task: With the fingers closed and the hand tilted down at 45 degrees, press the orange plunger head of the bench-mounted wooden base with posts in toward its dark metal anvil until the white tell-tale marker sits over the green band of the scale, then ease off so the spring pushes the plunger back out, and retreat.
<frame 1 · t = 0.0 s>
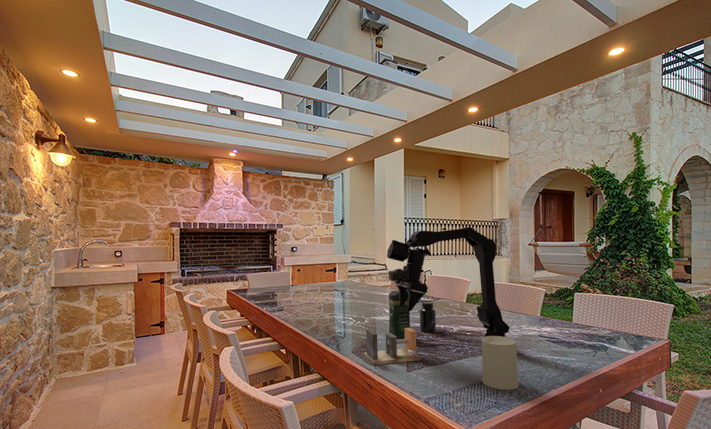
hand: (405, 308, 124), 15 cm above the table, tool pointing down, fingers open, 9 cm apart
coffee jar: (399, 337, 145), on the table
plunger: (402, 342, 119), point 5 cm above the table, slide at 0.0 cm
tell-tale marker: (409, 352, 116), point 2 cm above the table, slide at 0.0 cm
supplement bottle: (428, 331, 154), on the table
wooden base with posts: (407, 356, 120), on the table
can: (500, 383, 97), on the table
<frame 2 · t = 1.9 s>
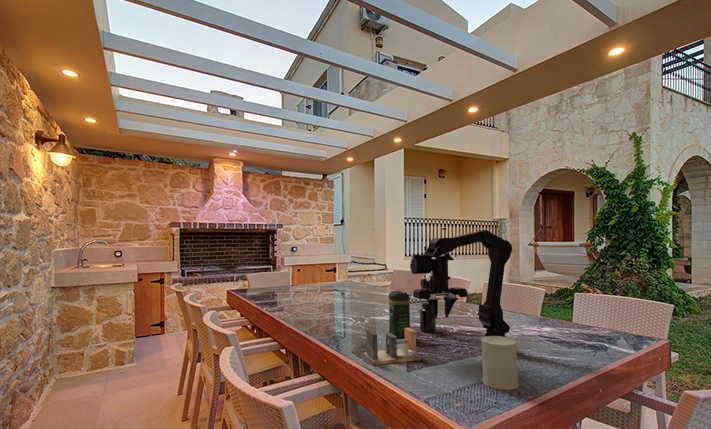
hand: (441, 317, 124), 12 cm above the table, tool pointing down, fingers open, 4 cm apart
nothing on the table moved.
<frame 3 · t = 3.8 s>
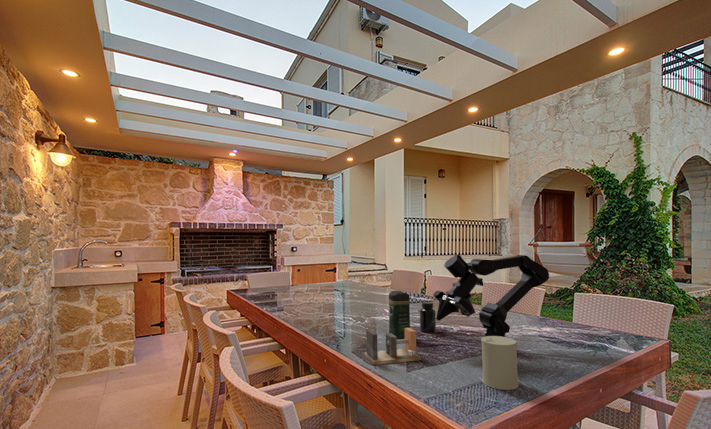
hand: (437, 319, 124), 11 cm above the table, tool tilted 45°, fingers closed
nothing on the table moved.
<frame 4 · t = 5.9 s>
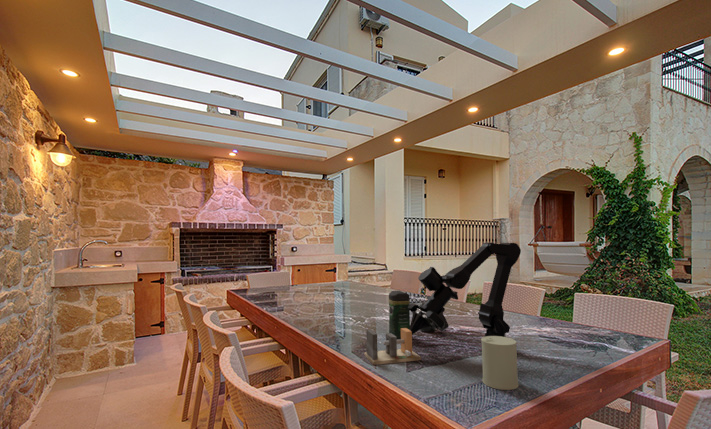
hand: (409, 334, 121), 7 cm above the table, tool tilted 45°, fingers closed, pressing on plunger
plunger: (398, 342, 118), point 5 cm above the table, slide at 1.5 cm, touching gripper, tell-tale marker
tell-tale marker: (407, 353, 116), point 2 cm above the table, slide at 1.0 cm, touching plunger
everything else where it was.
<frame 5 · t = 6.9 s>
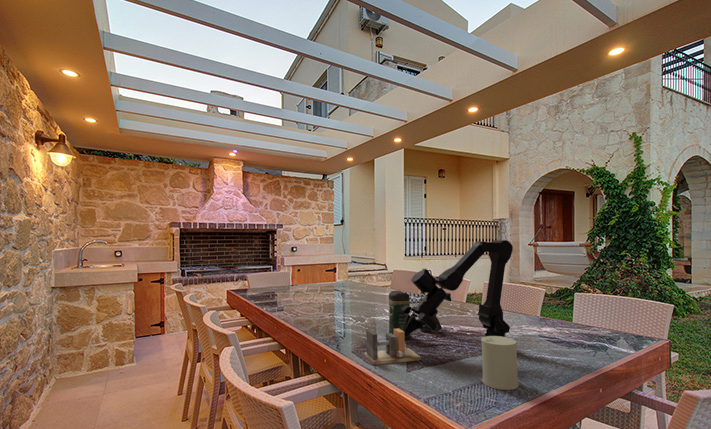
hand: (402, 336, 120), 7 cm above the table, tool tilted 45°, fingers closed, pressing on plunger
plunger: (390, 343, 118), point 5 cm above the table, slide at 4.1 cm, touching gripper
tell-tale marker: (399, 353, 115), point 2 cm above the table, slide at 3.6 cm
everything else where it was.
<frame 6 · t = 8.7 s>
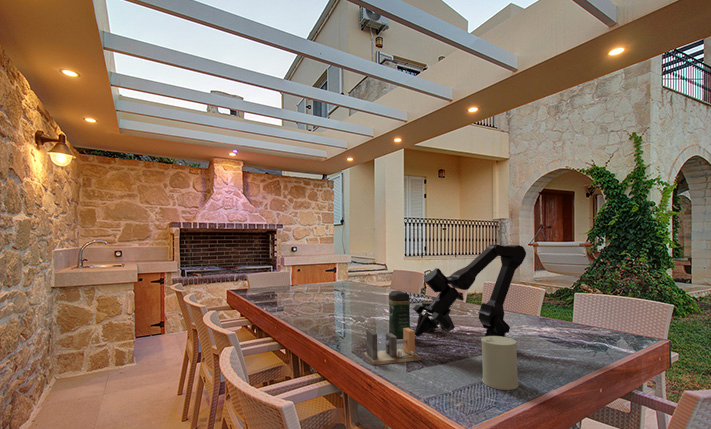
hand: (416, 335, 121), 7 cm above the table, tool tilted 45°, fingers closed
plunger: (400, 342, 118), point 5 cm above the table, slide at 0.5 cm
everything else where it was.
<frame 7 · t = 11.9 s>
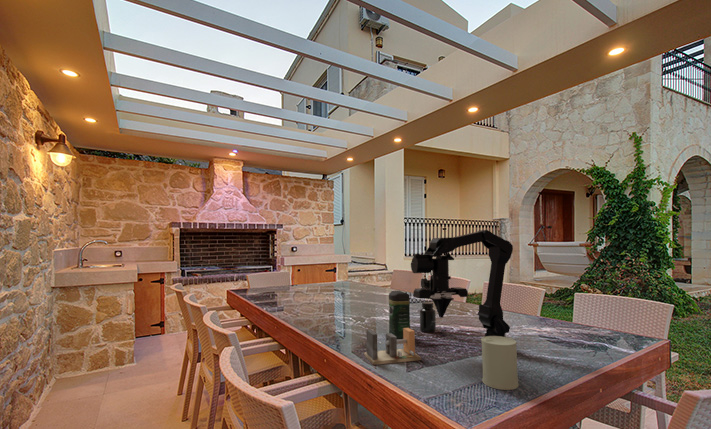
hand: (441, 317, 124), 12 cm above the table, tool pointing down, fingers closed
nothing on the table moved.
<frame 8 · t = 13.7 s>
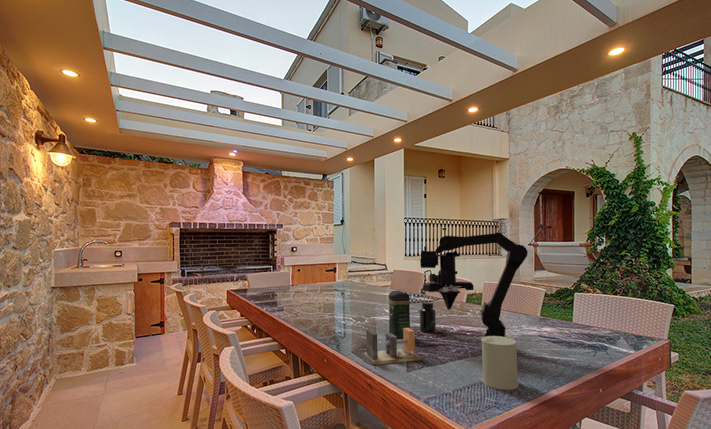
hand: (448, 309, 135), 13 cm above the table, tool pointing down, fingers closed
nothing on the table moved.
at the end: tell-tale marker slide at 3.6 cm; plunger slide at 0.5 cm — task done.
